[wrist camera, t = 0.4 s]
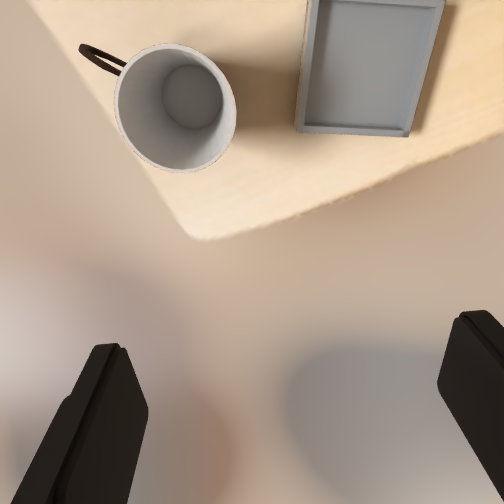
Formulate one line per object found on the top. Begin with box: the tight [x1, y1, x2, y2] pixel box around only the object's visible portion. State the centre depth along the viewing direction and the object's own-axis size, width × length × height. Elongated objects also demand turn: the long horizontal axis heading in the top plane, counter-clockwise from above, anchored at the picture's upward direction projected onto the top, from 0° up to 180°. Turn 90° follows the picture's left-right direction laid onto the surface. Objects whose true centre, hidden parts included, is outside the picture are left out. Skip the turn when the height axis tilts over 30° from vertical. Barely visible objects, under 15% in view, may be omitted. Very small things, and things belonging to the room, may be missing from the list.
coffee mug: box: [79, 44, 237, 173], centre depth 28 cm, size 12×9×10 cm
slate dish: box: [294, 0, 446, 137], centre depth 31 cm, size 11×11×2 cm
